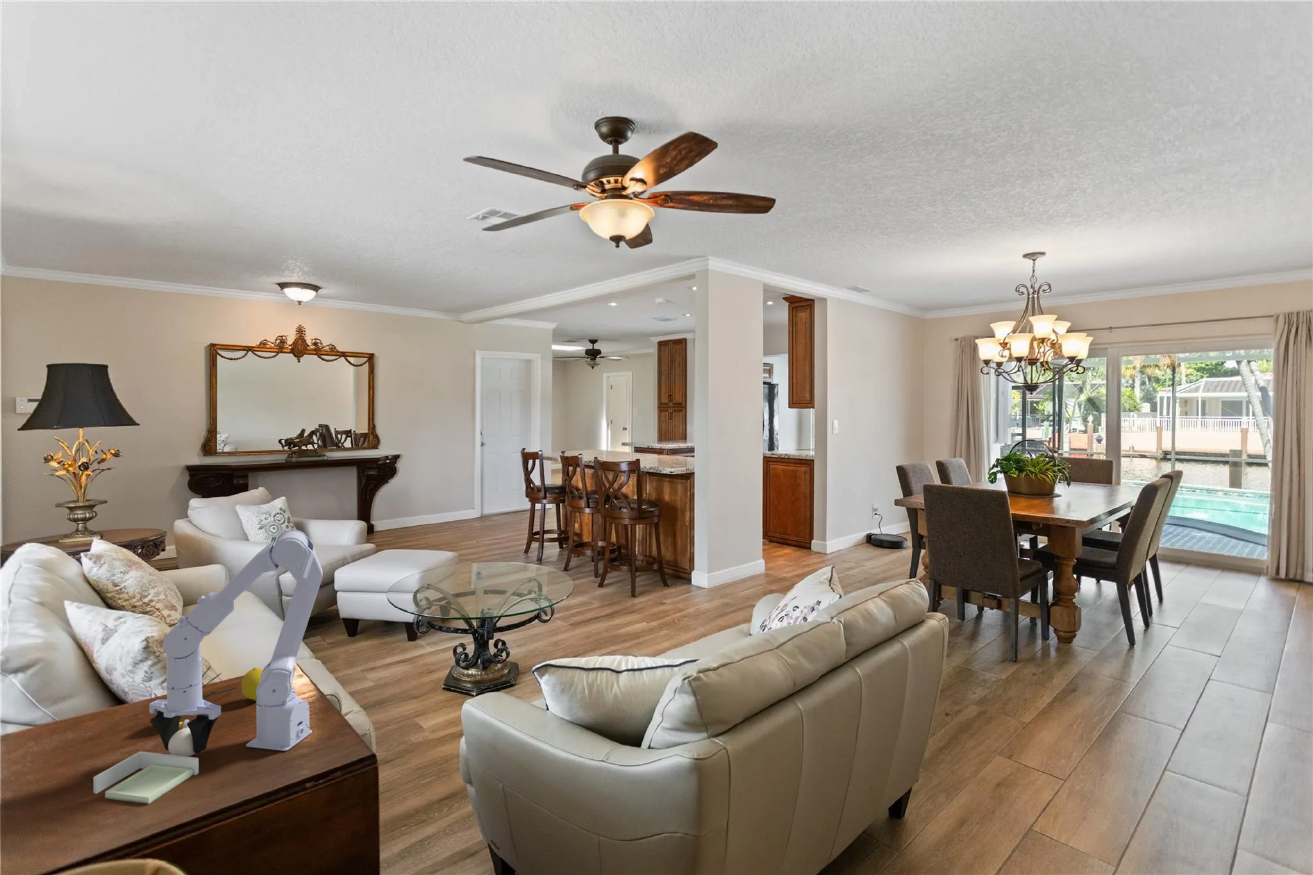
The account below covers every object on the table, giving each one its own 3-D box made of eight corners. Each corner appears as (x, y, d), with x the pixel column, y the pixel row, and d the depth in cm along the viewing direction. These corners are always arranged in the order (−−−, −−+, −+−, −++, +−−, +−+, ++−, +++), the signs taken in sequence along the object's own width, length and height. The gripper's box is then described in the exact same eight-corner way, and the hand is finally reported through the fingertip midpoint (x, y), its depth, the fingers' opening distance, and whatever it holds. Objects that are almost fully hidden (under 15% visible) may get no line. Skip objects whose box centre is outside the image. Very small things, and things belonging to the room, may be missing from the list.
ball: (209, 750, 131) (209, 723, 131) (185, 765, 126) (185, 737, 125) (185, 747, 132) (185, 721, 132) (161, 762, 127) (160, 734, 126)
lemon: (259, 706, 151) (259, 672, 150) (236, 705, 151) (235, 672, 150) (274, 695, 156) (273, 663, 156) (251, 694, 156) (251, 662, 156)
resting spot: (192, 775, 122) (192, 769, 122) (148, 803, 114) (148, 797, 113) (151, 770, 124) (151, 764, 124) (105, 798, 115) (105, 791, 115)
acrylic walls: (198, 773, 123) (198, 757, 123) (156, 801, 114) (155, 784, 114) (140, 766, 125) (139, 751, 125) (93, 793, 116) (93, 777, 116)
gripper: (134, 688, 125) (135, 756, 126) (199, 695, 123) (200, 763, 124) (166, 674, 132) (168, 738, 133) (229, 679, 130) (230, 744, 131)
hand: (185, 749), depth 129 cm, fingers open, 6 cm apart
